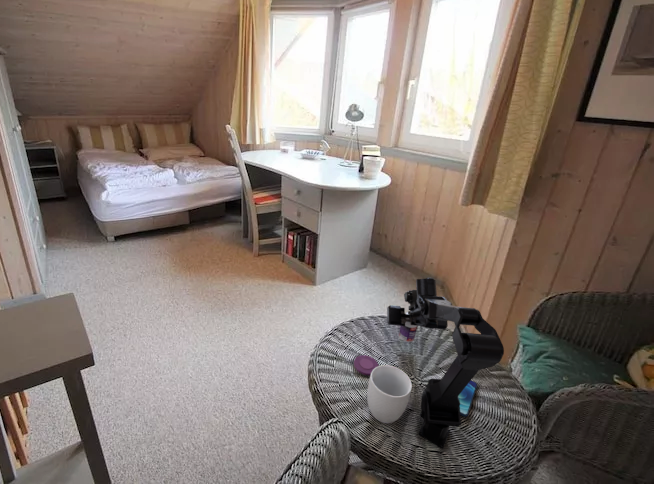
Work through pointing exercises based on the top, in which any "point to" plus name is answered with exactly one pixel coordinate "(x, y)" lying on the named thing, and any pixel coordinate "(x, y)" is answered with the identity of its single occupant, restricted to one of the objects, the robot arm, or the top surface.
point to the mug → (388, 393)
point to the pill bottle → (407, 332)
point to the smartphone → (467, 398)
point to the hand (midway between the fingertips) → (408, 320)
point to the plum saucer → (365, 364)
